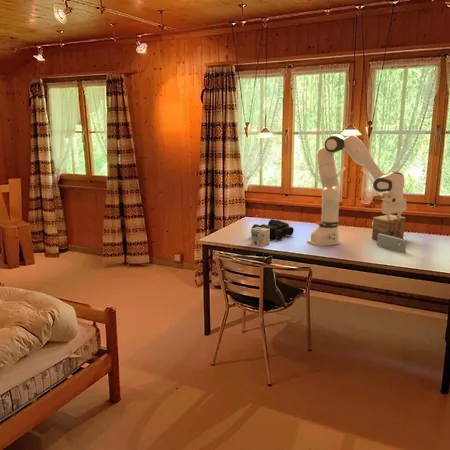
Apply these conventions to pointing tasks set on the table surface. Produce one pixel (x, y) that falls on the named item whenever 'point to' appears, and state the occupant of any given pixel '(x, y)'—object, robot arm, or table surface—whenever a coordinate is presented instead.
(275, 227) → the binoculars
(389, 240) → the door
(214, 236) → the table surface
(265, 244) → the light bulb box
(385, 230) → the brown wooden crate
